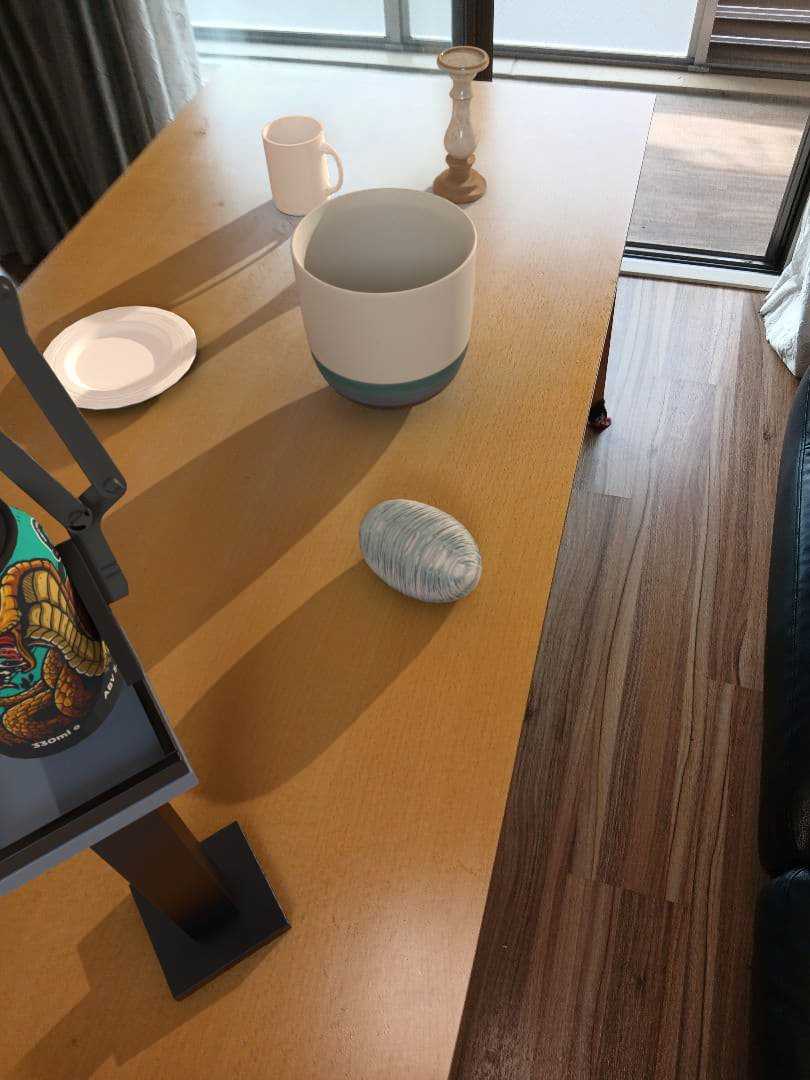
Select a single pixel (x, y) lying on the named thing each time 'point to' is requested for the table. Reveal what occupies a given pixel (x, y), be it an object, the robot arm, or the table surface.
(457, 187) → the candle holder
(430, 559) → the grey streaked ellipsoid
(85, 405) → the plate
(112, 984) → the table surface
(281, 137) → the mug
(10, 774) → the pad stand
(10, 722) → the beverage can
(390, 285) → the planter
